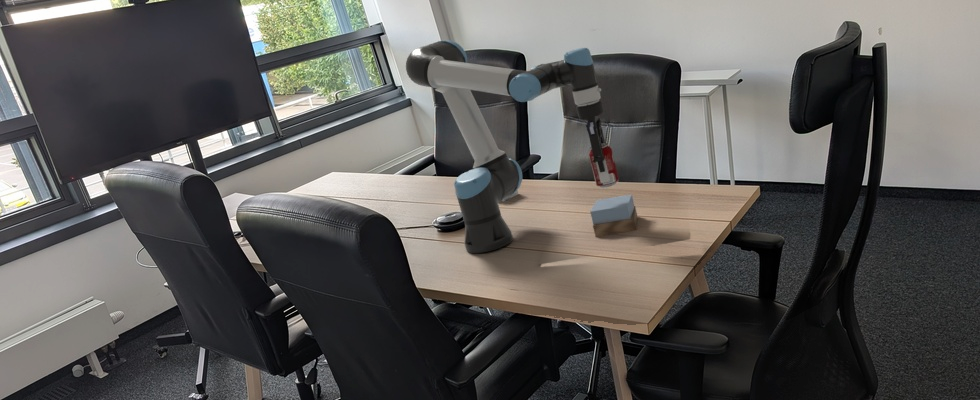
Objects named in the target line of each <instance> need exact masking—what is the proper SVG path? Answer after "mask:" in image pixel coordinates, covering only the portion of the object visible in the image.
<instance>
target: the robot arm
mask: <svg viewBox="0 0 980 400" xmlns="http://www.w3.org/2000/svg"><path fill="white" fill-rule="evenodd" d="M405 71H406V74H407V76H408V78H409V79H410V80H411V81H412V82H413V83H415V84H416V85H418V86H422V87H428V88H432V89H433V88H434V90H435V92H439V93H441V94H442V96H443V98H444V100H445V102H446V105H447V107H448V109H449V110H450V112H451V115H452V117H453V119H454V120H455V123H456V126H457V127H458V129H459V131H460V133H461V136H462V137H463V139H464V142H465V144H466V145H467V148H468V150H469V152H470V155H471V156H472V158H473V161H474V163H473V166H472V169H470V170H468V171H464V173H463V172H462V173H461V174H460V175H458V177H457V178H455V180H454V182H453V183H454V185H453V186H454V190H455V195H456V198H457V201H458V205H459V209H460V212H461V215H462V219H463V222H464V227H465V229H464V231H465V232H464V233H465V234H464V246H465V250H466V252H467V253H469V254H480V253H482V254H483V253H487V252H492V251H495V250H498V249H500V248H502V247H505V246H507V245H508V244H510V243H512V241H513V239H514V236H513V234H512V230H511V229H510V227H509V226H508V224H507V223H506V221H505V219H504V218H503V216H502V214H501V211H500V210H501V209H500V205H499V203H500V202H503V201H502V200H504V199H505V198H506V197H508V196H511V195H512V194H513V193H514V192H515V191H516V190H518V191H519V188H521V185H522V183H523V171H522V169H521V166H520V165H519V163H518V162H517V161H516V160H514V159H512V158H511V157H508V155H507V153H506V151H504V150H502V149H500V148H499V147H498V145H497V143H496V141H495V139H494V137H493V134H492V132H491V130H490V128H489V127H488V124H487V123H486V120H485V118H484V116H483V114H482V112H481V109H480V107H479V105H478V103H477V101H476V99H475V96H474V95H473V92H472V91H476V92H483V93H489V94H494V95H503V96H509V97H512V98H513V99H514V100H515V101H516V102H520V103H526V102H530V101H533V100H535V99H536V98H538V97H540V96H541V95H543V94H546V93H548V92H550V91H552V90H554V89H558V88H562V87H563V88H564V87H568V86H569V87H571V91H572V96H573V102H574V105H576V108H575V109H576V112H577V116H578V118H579V119H580V120H586V121H587V122H586V125H585V126H586V131H587V135H588V138H589V142H590V147H592V152H593V156H594V160H593V162H596V165H597V169H598V174H599V178H600V182H601V183H604V182H609V181H610V178H609V173H608V169H607V165H606V161H605V159H604V155H603V150H602V145H601V144H602V143H606V139H605V136H604V132H603V128H602V122H601V121H602V120H601V117H599V116H602V115H603V114H604V113H605V109H604V105H603V101H602V100H600V99H601V92H602V88H601V87H599V84H598V80H597V75H596V70H595V65H594V60H593V58H592V54H591V51H590V49H589V48H588V47H580V48H576V49H571V50H569V51H566V52H565V53H564V54H563V59H562V60H557V61H552V62H547V63H540V64H538V65H534V66H532V67H531V68H530V70H521V69H514V68H508V67H507V68H506V67H500V66H493V65H492V66H491V65H484V64H478V63H477V64H476V63H470V62H468V56H467V54H466V51H465V50H464V48H463V47H462V46H461V44H459V43H458V42H456V41H453V40H449V39H448V40H447V39H446V40H438V41H436V42H433V43H430V44H427V45H423V46H420V47H417V48H415V49H413V50H412V51H411V52H410V54H408V56H407V58H406V61H405Z"/></svg>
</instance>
